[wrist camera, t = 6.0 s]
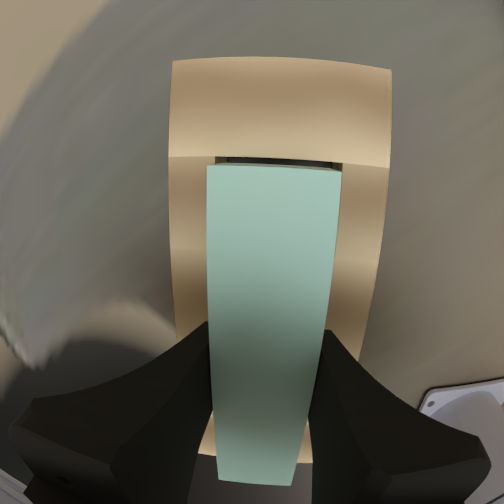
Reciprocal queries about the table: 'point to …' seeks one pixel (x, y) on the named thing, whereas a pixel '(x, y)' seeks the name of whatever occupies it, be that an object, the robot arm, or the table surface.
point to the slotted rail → (288, 147)
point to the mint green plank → (266, 309)
